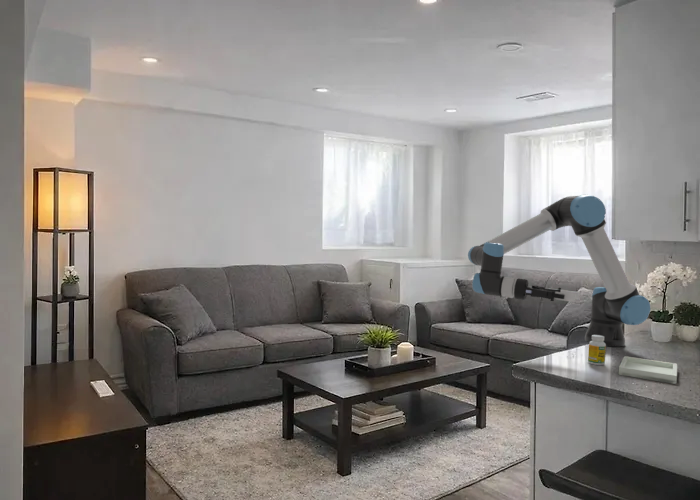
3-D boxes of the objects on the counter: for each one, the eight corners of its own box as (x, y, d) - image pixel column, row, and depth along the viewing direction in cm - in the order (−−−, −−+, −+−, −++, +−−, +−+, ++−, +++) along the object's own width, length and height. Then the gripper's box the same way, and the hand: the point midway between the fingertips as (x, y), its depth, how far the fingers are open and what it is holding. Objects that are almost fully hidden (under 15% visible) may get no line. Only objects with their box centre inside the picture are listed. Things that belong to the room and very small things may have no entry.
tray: (623, 363, 199) (624, 356, 199) (676, 371, 191) (677, 363, 191) (618, 374, 182) (619, 366, 182) (676, 384, 174) (676, 375, 174)
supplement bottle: (593, 361, 200) (595, 333, 199) (607, 364, 195) (610, 336, 195) (584, 362, 197) (586, 334, 196) (598, 366, 192) (600, 337, 192)
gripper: (521, 296, 220) (579, 305, 211) (506, 300, 198) (571, 310, 188) (523, 277, 220) (582, 285, 210) (509, 279, 198) (574, 288, 188)
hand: (577, 297), depth 199 cm, fingers open, 13 cm apart
